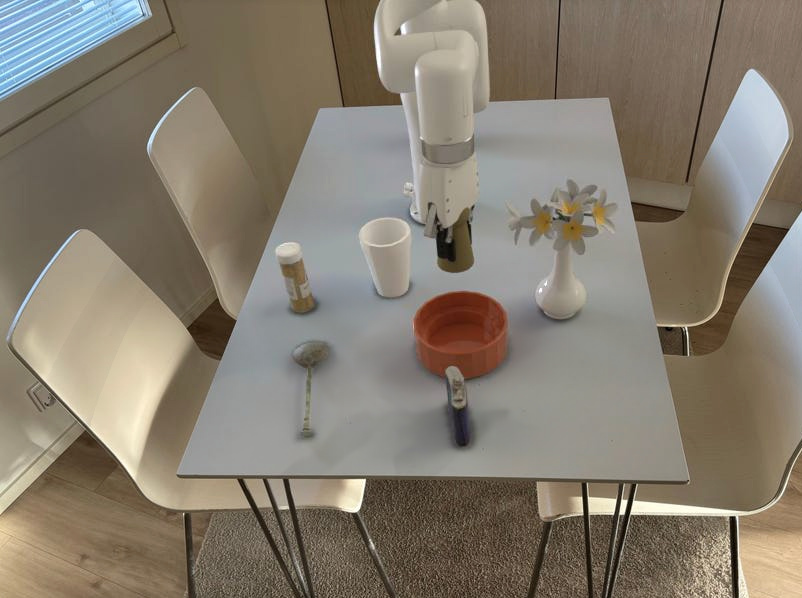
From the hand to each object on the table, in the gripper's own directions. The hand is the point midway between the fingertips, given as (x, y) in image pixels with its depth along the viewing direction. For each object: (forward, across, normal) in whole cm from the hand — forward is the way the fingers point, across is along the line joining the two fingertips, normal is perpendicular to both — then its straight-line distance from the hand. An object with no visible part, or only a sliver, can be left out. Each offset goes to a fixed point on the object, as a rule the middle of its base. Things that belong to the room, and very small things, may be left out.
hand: (454, 250), depth 111 cm
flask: (+20, +17, +10) cm, 28 cm away
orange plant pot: (+19, +2, +2) cm, 20 cm away
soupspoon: (+20, +23, -16) cm, 34 cm away
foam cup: (+19, -6, -20) cm, 28 cm away
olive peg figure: (+2, 0, 0) cm, 2 cm away
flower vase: (+19, -15, +12) cm, 27 cm away
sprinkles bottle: (+19, +7, -32) cm, 38 cm away
